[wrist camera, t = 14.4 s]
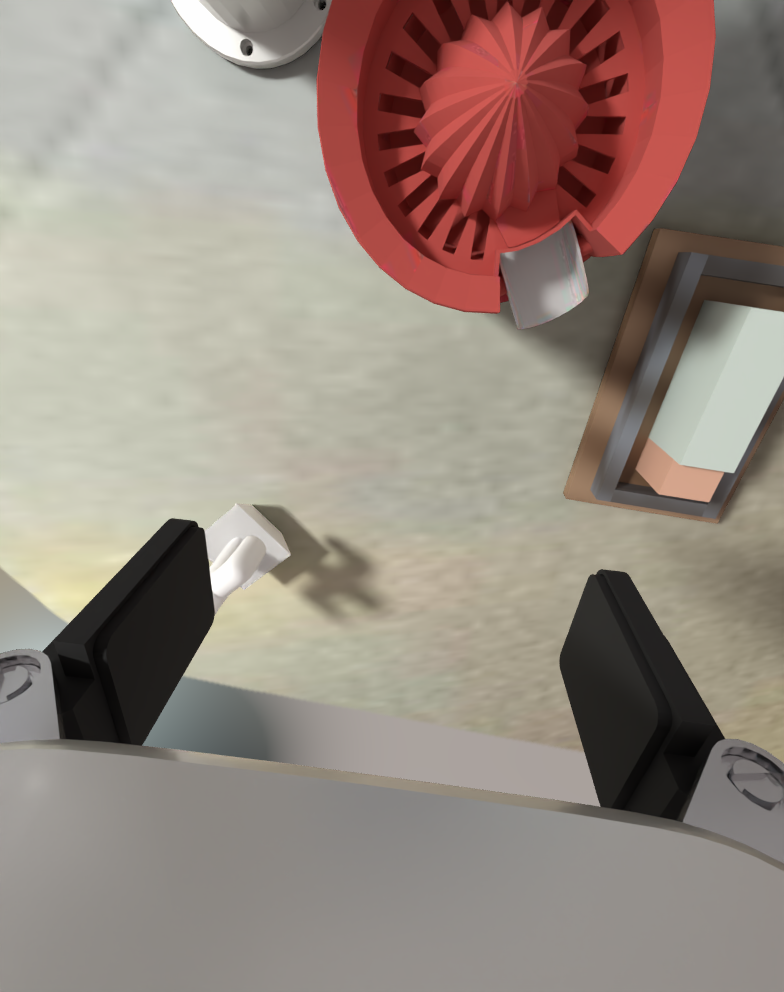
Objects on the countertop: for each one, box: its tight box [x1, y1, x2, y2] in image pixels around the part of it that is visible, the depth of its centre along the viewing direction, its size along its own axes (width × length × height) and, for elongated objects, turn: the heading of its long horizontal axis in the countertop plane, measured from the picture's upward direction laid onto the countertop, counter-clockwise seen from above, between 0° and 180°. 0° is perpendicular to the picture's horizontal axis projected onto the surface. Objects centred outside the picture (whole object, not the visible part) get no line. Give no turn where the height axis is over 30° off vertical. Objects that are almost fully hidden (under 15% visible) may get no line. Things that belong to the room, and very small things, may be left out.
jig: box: [563, 228, 784, 523], centre depth 38 cm, size 22×14×3 cm, turn 172°
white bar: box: [635, 300, 784, 502], centre depth 36 cm, size 14×4×6 cm, turn 172°
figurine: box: [205, 504, 291, 616], centre depth 43 cm, size 7×9×15 cm
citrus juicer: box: [317, 0, 716, 329], centre depth 25 cm, size 16×17×20 cm
